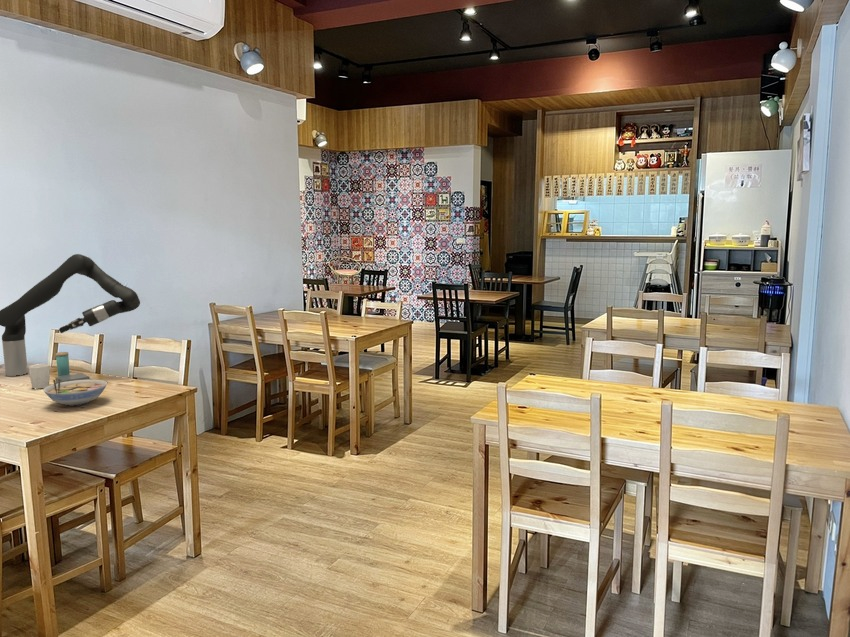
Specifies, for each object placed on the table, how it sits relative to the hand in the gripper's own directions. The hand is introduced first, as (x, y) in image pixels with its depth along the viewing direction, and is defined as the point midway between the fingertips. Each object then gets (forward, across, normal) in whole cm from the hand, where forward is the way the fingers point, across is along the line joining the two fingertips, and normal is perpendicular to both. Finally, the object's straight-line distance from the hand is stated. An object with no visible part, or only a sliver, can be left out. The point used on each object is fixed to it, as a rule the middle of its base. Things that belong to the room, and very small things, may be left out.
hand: (60, 330), depth 283 cm
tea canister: (+9, -9, +22) cm, 26 cm away
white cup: (+18, +2, +20) cm, 27 cm away
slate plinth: (+6, +2, +24) cm, 25 cm away
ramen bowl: (+6, +40, +28) cm, 49 cm away
